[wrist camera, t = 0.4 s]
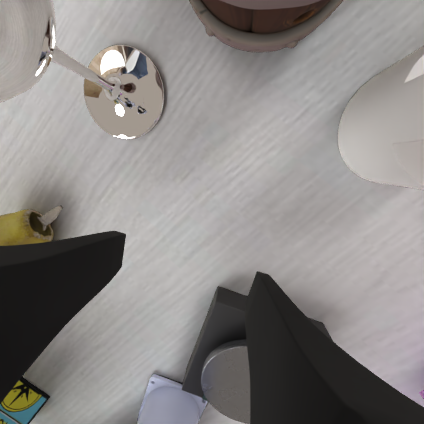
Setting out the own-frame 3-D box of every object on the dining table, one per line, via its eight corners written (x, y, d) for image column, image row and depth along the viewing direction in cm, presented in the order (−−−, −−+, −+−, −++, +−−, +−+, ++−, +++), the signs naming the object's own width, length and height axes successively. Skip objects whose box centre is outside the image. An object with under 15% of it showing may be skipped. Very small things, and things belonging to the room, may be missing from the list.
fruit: (90, 226, 22) (31, 281, 23) (63, 186, 23) (8, 241, 24) (32, 226, 16) (-42, 300, 17) (1, 173, 17) (-67, 246, 18)
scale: (276, 401, 25) (281, 431, 22) (186, 368, 25) (180, 393, 22) (323, 322, 21) (336, 346, 19) (217, 285, 22) (215, 303, 19)
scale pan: (279, 427, 21) (280, 437, 20) (190, 394, 21) (189, 403, 21) (321, 361, 18) (325, 370, 18) (219, 324, 19) (219, 331, 18)
